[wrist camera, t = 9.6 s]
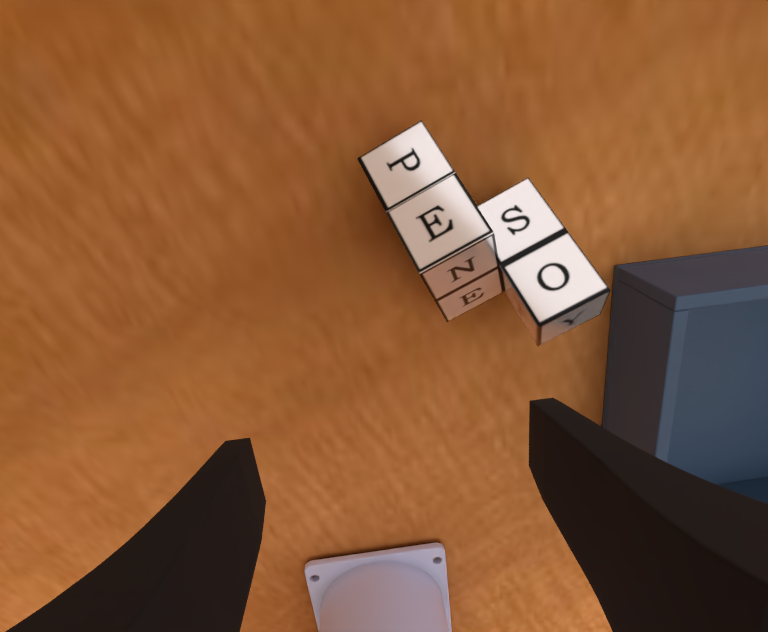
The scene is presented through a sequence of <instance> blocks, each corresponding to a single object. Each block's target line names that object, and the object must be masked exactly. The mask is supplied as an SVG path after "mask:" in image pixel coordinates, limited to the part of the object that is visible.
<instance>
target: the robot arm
mask: <svg viewBox="0 0 768 632" xmlns="http://www.w3.org/2000/svg"><path fill="white" fill-rule="evenodd" d="M529 467H530V469H531V472H532V474H533V477H534V479H535V482H536V485H537V487H538V489H539V492H540V494H541V496H542V499H543V501H544V503H545V505H546V506H547V508H548V510H549V512H550V514H551V515H552V517H553V519H554V521H555V523H556V524H557V526H558V528H559V530H560V531H561V533H562V535H563V537H564V538H565V540H566V542H567V544H568V546H569V547H570V549H571V551H572V553H573V554H574V556H575V558H576V560H577V561H578V563H579V565H580V567H581V568H582V570H583V572H584V574H585V575H586V577H587V579H588V581H589V583H590V584H591V586H592V588H593V590H594V592H595V594H596V596H597V598H598V600H599V602H600V604H601V606H602V609H603V611H604V613H605V615H606V618H607V620H608V622H609V624H610V626H611V629H612V631H613V632H768V504H767V503H764V502H761V501H759V500H756V499H753V498H750V497H748V496H745V495H742V494H740V493H737V492H734V491H731V490H729V489H726V488H724V487H721V486H719V485H716V484H714V483H711V482H709V481H706V480H704V479H702V478H700V477H697V476H695V475H693V474H691V473H688V472H686V471H684V470H682V469H679V468H677V467H675V466H673V465H671V464H669V463H667V462H665V461H663V460H661V459H659V458H657V457H655V456H653V455H651V454H649V453H647V452H645V451H643V450H641V449H640V448H638V447H636V446H634V445H632V444H630V443H629V442H627V441H625V440H623V439H621V438H620V437H618V436H616V435H615V434H613V433H611V432H609V431H608V430H606V429H604V428H603V427H601V426H599V425H598V424H596V423H594V422H593V421H591V420H590V419H588V418H586V417H585V416H583V415H581V414H580V413H578V412H577V411H575V410H573V409H572V408H570V407H568V406H567V405H565V404H563V403H562V402H560V401H558V400H556V399H554V398H548V399H540V400H533V401H530V420H529ZM265 504H266V500H265V496H264V492H263V488H262V484H261V480H260V476H259V472H258V468H257V464H256V460H255V456H254V452H253V448H252V445H251V441H250V438H245V439H237V440H229V441H225V442H224V443H223V444H222V445H221V446H220V447H219V448H218V450H217V451H216V452H215V453H214V454H213V455H212V456H211V457H210V458H209V459H208V461H207V462H206V463H205V464H204V465H203V466H202V467H201V468H200V469H199V471H198V472H197V473H196V474H195V475H194V476H193V477H192V478H191V479H190V480H189V481H188V482H187V483H186V485H185V486H184V487H183V488H182V489H181V490H180V491H179V492H178V493H177V494H176V495H175V496H174V497H173V498H172V499H171V500H170V501H169V502H168V503H167V504H166V505H165V506H164V507H163V508H162V509H161V510H160V511H159V512H158V513H157V514H156V515H155V516H154V517H153V518H152V519H151V520H150V521H149V522H148V523H147V524H146V525H145V526H144V527H143V528H142V529H141V530H140V531H138V532H137V533H136V534H135V535H134V536H133V537H132V538H131V539H130V540H128V541H127V542H126V543H125V544H124V545H123V546H122V547H120V548H119V549H118V550H117V551H116V552H114V553H113V554H112V555H111V556H110V557H108V558H107V559H106V560H105V561H104V562H102V563H101V564H100V565H99V566H97V567H96V568H95V569H94V570H92V571H91V572H90V573H88V574H87V575H86V576H84V577H83V578H82V579H80V580H79V581H78V582H76V583H75V584H74V585H72V586H71V587H69V588H68V589H67V590H65V591H64V592H63V593H61V594H60V595H59V596H57V597H56V598H55V599H53V600H52V601H51V602H49V603H48V604H46V605H45V606H43V607H42V608H41V609H39V610H38V611H36V612H35V613H33V614H32V615H30V616H29V617H27V618H26V619H24V620H23V621H21V622H20V623H18V624H17V625H15V626H14V627H12V628H10V629H9V630H7V631H6V632H240V628H241V624H242V619H243V615H244V611H245V607H246V603H247V599H248V595H249V591H250V587H251V582H252V578H253V574H254V570H255V566H256V562H257V557H258V553H259V549H260V544H261V540H262V532H263V524H264V514H265ZM436 557H438V558H436ZM304 573H305V577H306V581H307V586H308V590H309V594H310V598H311V602H312V606H313V610H314V615H315V619H316V623H317V627H318V631H319V632H452V628H451V616H450V604H449V592H448V580H447V568H446V556H445V549H444V546H443V545H442V544H441V543H429V544H422V545H415V546H408V547H401V548H394V549H387V550H381V551H374V552H367V553H360V554H353V555H346V556H339V557H332V558H325V559H318V560H312V561H309V562H307V563H306V565H305V571H304ZM313 575H317V576H313Z"/></svg>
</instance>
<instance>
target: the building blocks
mask: <svg viewBox="0 0 768 632" xmlns="http://www.w3.org/2000/svg"><path fill="white" fill-rule="evenodd" d="M358 161H359V163H360V164H361V166H362V168H363V170H364V172H365V174H366V176H367V177H368V179H369V181H370V183H371V185H372V187H373V189H374V190H375V192H376V194H377V196H378V198H379V200H380V202H381V203H382V205H383V207H384V209H385V211H386V213H387V215H388V216H389V218H390V220H391V222H392V224H393V226H394V228H395V229H396V231H397V233H398V235H399V237H400V239H401V241H402V242H403V244H404V246H405V248H406V250H407V252H408V254H409V256H410V257H411V259H412V261H413V263H414V265H415V267H416V269H417V270H418V272H419V274H420V276H421V278H422V279H423V281H424V283H425V285H426V286H427V288H428V290H429V291H430V293H431V295H432V297H433V298H434V300H435V302H436V304H437V305H438V307H439V309H440V311H441V312H442V314H443V316H444V318H445V319H446V321H447V322H448V321H450V320H452V319H454V318H456V317H458V316H460V315H461V314H463V313H465V312H467V311H469V310H471V309H473V308H475V307H476V306H478V305H480V304H482V303H484V302H486V301H488V300H490V299H491V298H493V297H495V296H497V295H499V294H501V293H503V292H504V293H505V294H506V296H507V298H508V299H509V301H510V302H511V304H512V306H513V307H514V309H515V311H516V312H517V314H518V315H519V317H520V319H521V320H522V322H523V323H524V325H525V327H526V328H527V330H528V332H529V333H530V335H531V336H532V338H533V340H534V341H535V343H536V345H537V346H539V345H541V344H543V343H545V342H547V341H549V340H551V339H553V338H555V337H557V336H559V335H561V334H563V333H565V332H567V331H569V330H571V329H573V328H574V327H576V326H578V325H580V324H582V323H584V322H586V321H588V320H590V319H592V318H594V317H596V316H598V315H600V314H601V311H602V309H603V307H604V304H605V302H606V299H607V297H608V295H609V292H610V289H609V287H608V286H607V285H606V283H605V282H604V280H603V279H602V278H601V276H600V275H599V274H598V272H597V271H596V270H595V268H594V267H593V265H592V264H591V263H590V261H589V260H588V259H587V257H586V256H585V254H584V253H583V252H582V250H581V249H580V248H579V246H578V245H577V243H576V242H575V241H574V239H573V238H572V237H571V235H570V234H569V233H568V231H567V230H566V228H565V227H564V226H563V224H562V223H561V222H560V220H559V219H558V217H557V216H556V215H555V213H554V212H553V211H552V209H551V208H550V206H549V205H548V204H547V202H546V201H545V200H544V198H543V197H542V196H541V194H540V193H539V191H538V190H537V189H536V187H535V186H534V185H533V183H532V182H531V180H530V179H529V178H526V179H525V180H523V181H521V182H519V183H517V184H516V185H514V186H512V187H510V188H509V189H507V190H505V191H503V192H501V193H500V194H498V195H496V196H494V197H492V198H491V199H489V200H487V201H485V202H484V203H482V204H480V205H478V206H477V205H476V204H475V202H474V201H473V199H472V198H471V196H470V194H469V193H468V191H467V190H466V188H465V187H464V185H463V184H462V182H461V181H460V179H459V177H458V176H457V174H456V173H455V171H454V170H453V168H452V167H451V165H450V164H449V162H448V160H447V159H446V157H445V156H444V154H443V153H442V151H441V150H440V148H439V147H438V145H437V143H436V142H435V140H434V139H433V137H432V136H431V134H430V133H429V131H428V130H427V128H426V126H425V125H424V123H423V122H422V120H421V121H420V122H418V123H416V124H415V125H413V126H411V127H410V128H408V129H406V130H405V131H403V132H401V133H400V134H398V135H396V136H395V137H393V138H391V139H389V140H388V141H386V142H384V143H383V144H381V145H379V146H378V147H376V148H374V149H373V150H371V151H369V152H368V153H366V154H364V155H363V156H361V157H359V158H358Z"/></svg>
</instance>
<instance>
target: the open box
mask: <svg viewBox="0 0 768 632" xmlns="http://www.w3.org/2000/svg"><path fill="white" fill-rule="evenodd" d="M602 427H603V428H604V429H606V430H608V431H609V432H611V433H613V434H615V435H616V436H618V437H620V438H621V439H623V440H625V441H627V442H629V443H630V444H632V445H634V446H636V447H638V448H640V449H641V450H643V451H645V452H647V453H649V454H651V455H653V456H655V457H657V458H659V459H661V460H663V461H665V462H667V463H669V464H671V465H673V466H675V467H677V468H679V469H682V470H684V471H686V472H688V473H691V474H693V475H695V476H697V477H700V478H702V479H704V480H706V481H709V482H711V483H714V484H716V485H719V486H721V487H724V488H726V489H729V490H731V491H734V492H737V493H740V494H742V495H745V496H748V497H750V498H753V499H756V500H759V501H761V502H764V503H767V504H768V246H760V247H753V248H745V249H737V250H729V251H722V252H714V253H706V254H698V255H691V256H683V257H675V258H668V259H660V260H652V261H644V262H637V263H629V264H621V265H615V268H614V281H613V293H612V306H611V319H610V332H609V345H608V358H607V371H606V384H605V396H604V409H603V422H602Z"/></svg>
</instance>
